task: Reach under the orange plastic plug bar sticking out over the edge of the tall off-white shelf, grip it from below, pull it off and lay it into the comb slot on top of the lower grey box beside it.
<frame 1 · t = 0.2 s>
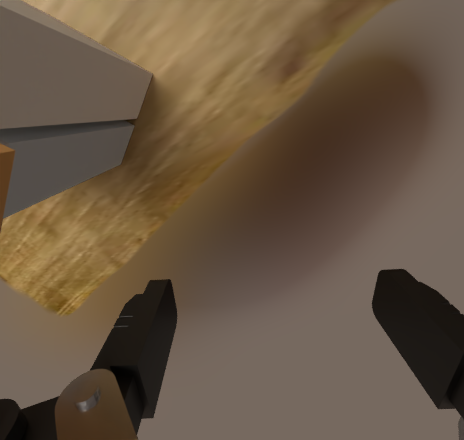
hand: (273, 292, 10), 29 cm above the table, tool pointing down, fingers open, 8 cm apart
grey box: (82, 122, 35), on the table
tall shelf: (96, 70, 32), on the table
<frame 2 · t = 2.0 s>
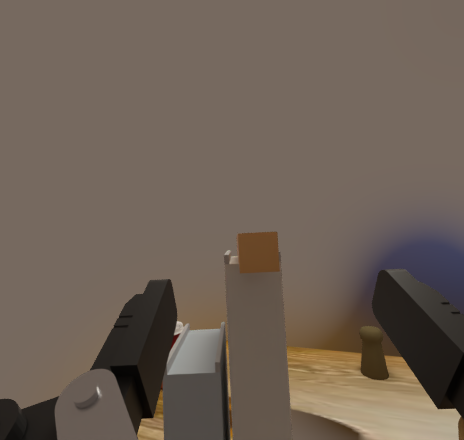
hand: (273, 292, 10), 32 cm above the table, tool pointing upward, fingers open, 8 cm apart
plug bar: (251, 261, 29), point 32 cm above the table, touching tall shelf
paper cup: (170, 384, 63), on the table
cork: (374, 373, 63), on the table
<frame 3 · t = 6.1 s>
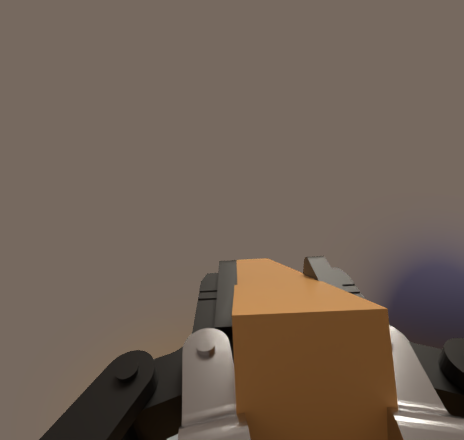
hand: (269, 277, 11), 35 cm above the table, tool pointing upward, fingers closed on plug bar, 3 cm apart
plug bar: (264, 320, 15), point 32 cm above the table, touching gripper, tall shelf
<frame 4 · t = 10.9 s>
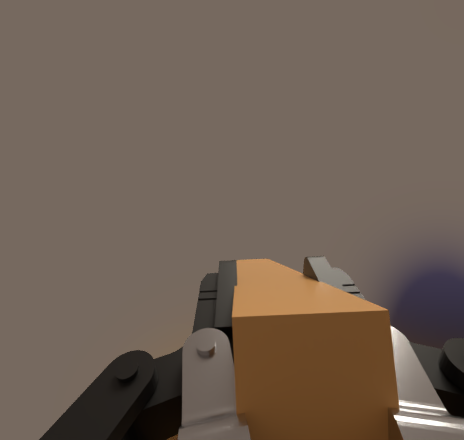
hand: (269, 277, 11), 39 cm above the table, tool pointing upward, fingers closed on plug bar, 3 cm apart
plug bar: (264, 321, 15), point 36 cm above the table, touching gripper
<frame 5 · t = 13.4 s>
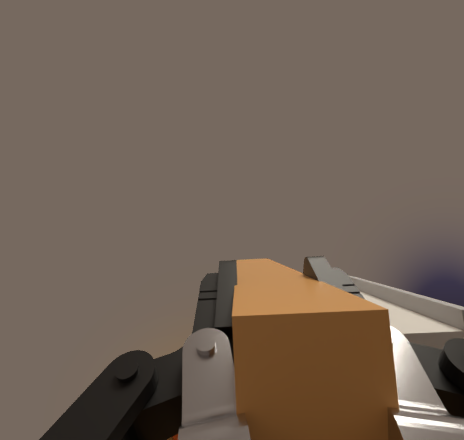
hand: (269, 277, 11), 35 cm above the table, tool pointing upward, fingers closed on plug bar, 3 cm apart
plug bar: (264, 321, 15), point 32 cm above the table, touching gripper
when the fingers open (26 cm above the table, at t = 15.7 s): plug bar drops 1 cm, resting on grey box.
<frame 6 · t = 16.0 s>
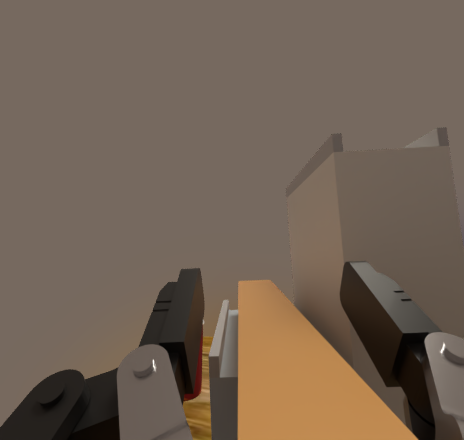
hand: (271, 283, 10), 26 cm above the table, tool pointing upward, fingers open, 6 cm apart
plug bar: (268, 361, 14), point 21 cm above the table, touching grey box
paper cup: (186, 393, 49), on the table
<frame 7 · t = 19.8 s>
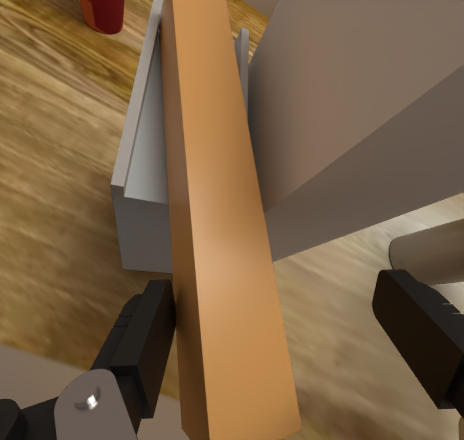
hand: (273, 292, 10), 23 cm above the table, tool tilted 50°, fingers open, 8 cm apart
grey box: (156, 221, 33), on the table
tall shelf: (208, 228, 35), on the table
plug bar: (197, 180, 13), point 21 cm above the table, touching gripper, grey box
paper cup: (103, 21, 41), on the table
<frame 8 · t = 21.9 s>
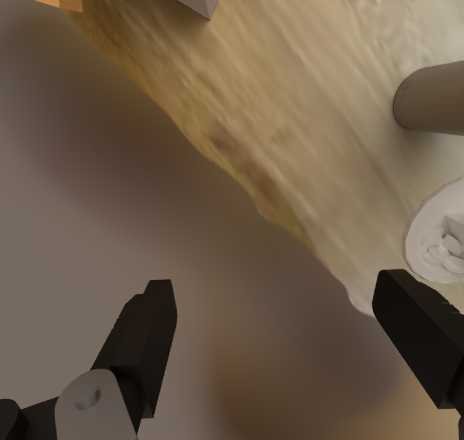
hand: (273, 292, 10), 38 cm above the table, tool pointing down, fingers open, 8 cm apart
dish: (463, 229, 52), on the table
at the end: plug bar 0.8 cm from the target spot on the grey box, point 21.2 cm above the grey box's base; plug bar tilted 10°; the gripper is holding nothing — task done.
